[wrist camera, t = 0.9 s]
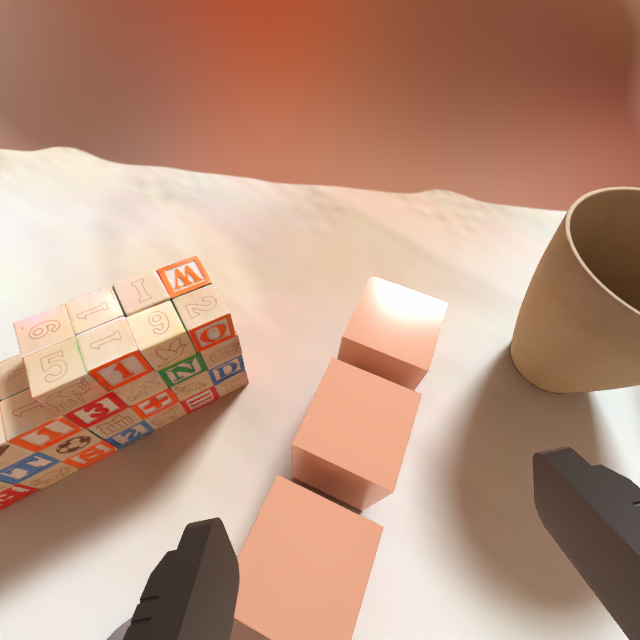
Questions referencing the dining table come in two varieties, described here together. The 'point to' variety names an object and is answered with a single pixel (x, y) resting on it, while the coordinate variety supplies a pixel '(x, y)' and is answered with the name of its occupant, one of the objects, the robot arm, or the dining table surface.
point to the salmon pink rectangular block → (305, 566)
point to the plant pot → (585, 299)
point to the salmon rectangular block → (354, 435)
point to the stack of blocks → (112, 373)
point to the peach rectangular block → (393, 333)
